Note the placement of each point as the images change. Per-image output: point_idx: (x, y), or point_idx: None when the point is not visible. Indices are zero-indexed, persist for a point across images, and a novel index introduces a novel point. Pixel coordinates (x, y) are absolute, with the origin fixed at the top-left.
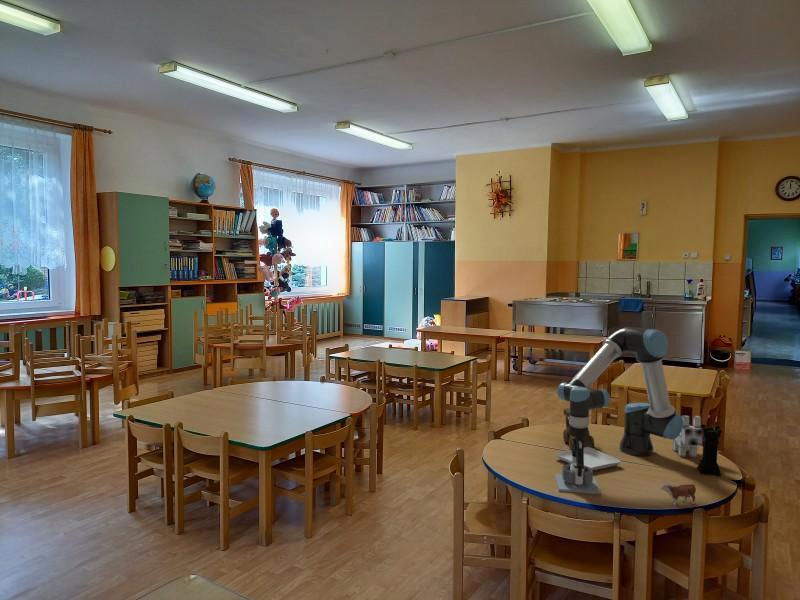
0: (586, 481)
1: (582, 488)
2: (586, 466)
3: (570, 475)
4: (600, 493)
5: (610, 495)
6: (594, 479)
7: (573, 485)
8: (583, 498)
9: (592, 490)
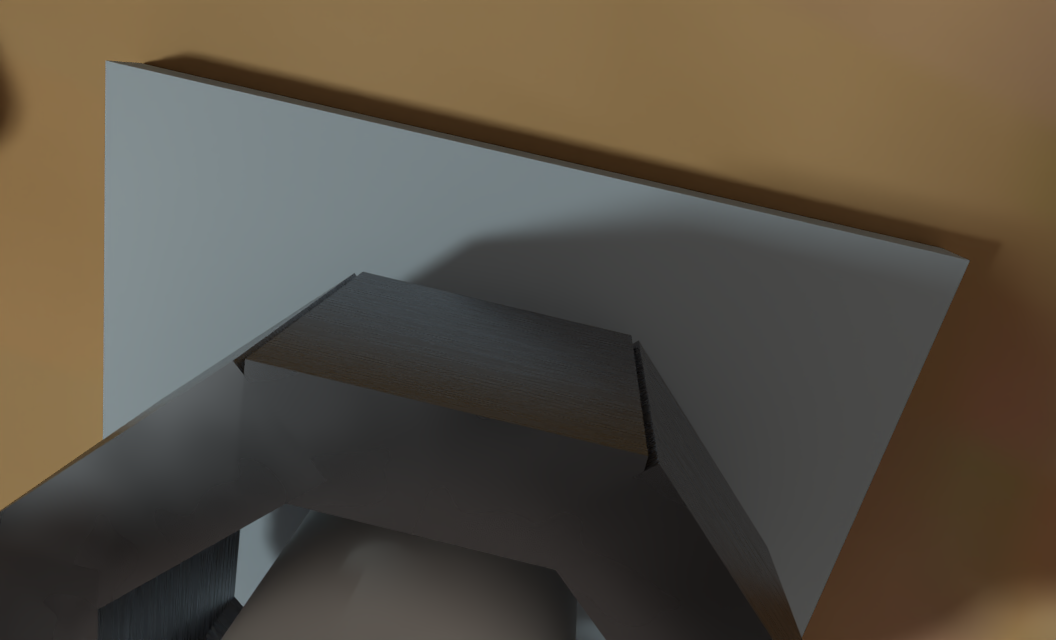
0: (761, 552)
1: None
2: (125, 455)
3: None
4: (951, 253)
5: (1042, 47)
6: (272, 117)
7: (587, 624)
8: (1037, 604)
9: (860, 395)
